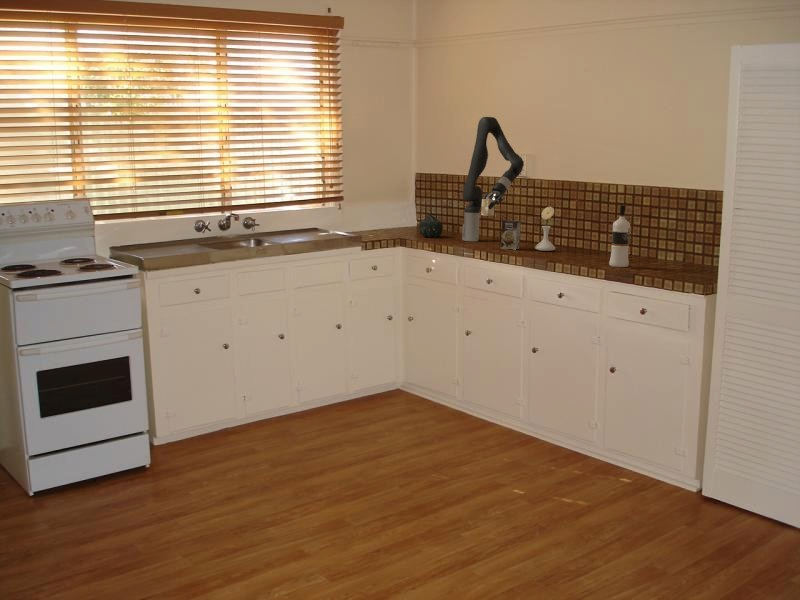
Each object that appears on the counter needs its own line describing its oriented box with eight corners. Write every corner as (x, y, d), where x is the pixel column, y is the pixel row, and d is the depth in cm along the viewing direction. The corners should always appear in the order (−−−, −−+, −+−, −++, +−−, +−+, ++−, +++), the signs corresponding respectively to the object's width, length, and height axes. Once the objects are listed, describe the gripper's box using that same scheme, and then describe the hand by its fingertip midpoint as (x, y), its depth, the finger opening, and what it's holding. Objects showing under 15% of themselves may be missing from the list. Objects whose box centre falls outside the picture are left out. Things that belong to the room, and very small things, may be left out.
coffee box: (500, 249, 499) (501, 220, 496) (504, 248, 504) (505, 219, 502) (515, 250, 494) (516, 221, 492) (519, 249, 500) (520, 220, 497)
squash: (440, 227, 566) (427, 209, 560) (450, 230, 552) (436, 212, 546) (424, 242, 564) (410, 224, 558) (433, 245, 550) (419, 227, 545)
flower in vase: (531, 249, 499) (533, 205, 495) (548, 249, 503) (551, 205, 499) (542, 252, 487) (544, 207, 483) (560, 252, 491) (563, 207, 487)
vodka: (612, 264, 442) (617, 204, 437) (631, 266, 437) (635, 205, 432) (606, 266, 434) (610, 204, 429) (624, 268, 429) (629, 206, 424)
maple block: (481, 215, 503) (482, 199, 501) (487, 214, 506) (488, 199, 504) (487, 215, 499) (488, 199, 497) (493, 215, 502) (494, 199, 501)
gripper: (489, 181, 509) (473, 202, 504) (508, 182, 498) (491, 204, 493) (495, 190, 514) (479, 211, 508) (513, 192, 503) (497, 213, 497)
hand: (485, 207), depth 501 cm, fingers closed on maple block, 5 cm apart
